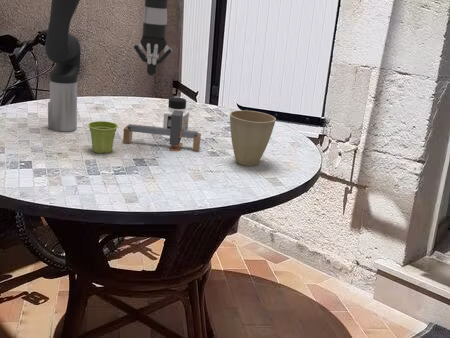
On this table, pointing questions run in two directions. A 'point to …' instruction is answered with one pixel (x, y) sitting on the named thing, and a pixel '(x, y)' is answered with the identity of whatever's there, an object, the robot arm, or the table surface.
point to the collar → (176, 127)
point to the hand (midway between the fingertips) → (151, 75)
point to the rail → (162, 131)
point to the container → (178, 105)
